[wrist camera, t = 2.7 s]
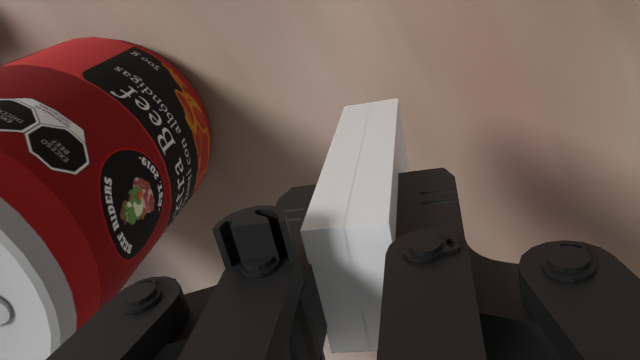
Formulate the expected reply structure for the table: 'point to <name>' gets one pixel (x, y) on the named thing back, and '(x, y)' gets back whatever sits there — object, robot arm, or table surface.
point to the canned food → (87, 180)
